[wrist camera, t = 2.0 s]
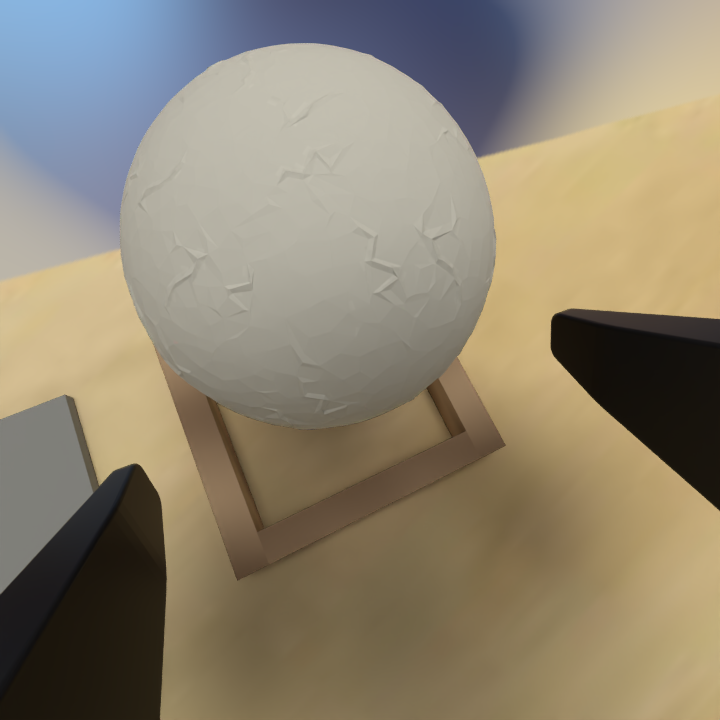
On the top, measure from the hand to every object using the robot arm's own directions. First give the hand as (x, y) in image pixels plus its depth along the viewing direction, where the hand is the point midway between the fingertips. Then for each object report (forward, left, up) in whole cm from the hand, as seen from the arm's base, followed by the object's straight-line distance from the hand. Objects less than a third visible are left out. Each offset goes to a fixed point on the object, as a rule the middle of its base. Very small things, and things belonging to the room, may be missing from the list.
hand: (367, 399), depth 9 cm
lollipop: (+3, 0, -11) cm, 11 cm away
